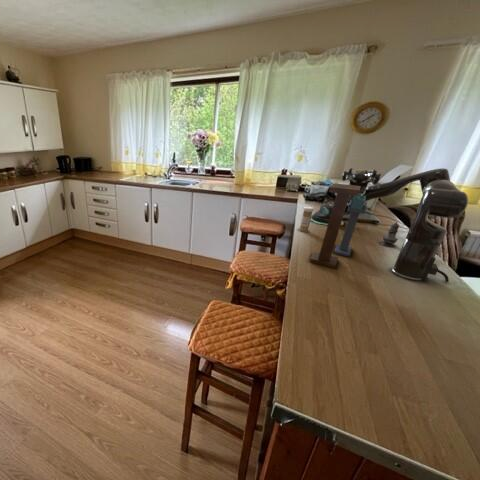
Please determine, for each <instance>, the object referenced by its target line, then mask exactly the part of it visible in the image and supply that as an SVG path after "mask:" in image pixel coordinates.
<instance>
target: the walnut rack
mask: <svg viewBox="0 0 480 480" xmlns="http://www.w3.org/2000/svg"><path fill="white" fill-rule="evenodd" d="M360 188H361V186H354V185H349V184H344V183H332V184H331V186H330V187H329V190H328V193H333V194H336V195H335V198H334V202H333V205H332V206H333V209H332V212H331V216H330V219H329V223H328V225H326V226H327V227H326V230H325V234H324V236H323V240H322V243H321V248H320V251H319V252H317V251H314V252H313V254H312V255H311V257H310V261H309V262H310V263H312V264H317V265H319V266H320V265H321V266H324V267H327V268H331V269H336V266H337V263H338V259H339V257H338V256H334V255H332V254H333V252H334V248H335V246H336V241H337V239H338V234H339V232H340V228H341V226H342V225H341V222H343V220H344V219H343V218H344V216H345V212H346V210H347V209H346V208H347V207H348V206H347V205H348V199H349V196H350V195H356V196H358V194H359V191H360Z"/></svg>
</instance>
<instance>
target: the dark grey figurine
mask: <svg viewBox="0 0 480 480" xmlns="http://www.w3.org/2000/svg"><path fill="white" fill-rule="evenodd" d="M399 227H400V225H399V224H398V222H397V221H395V223H392V224H391V225H390V228H389V229H388V232H387V234H385V235H382V242H380V244H381V245H382V246H385V247H389V248H395V244H396V243H397V242H398V240H399V239H398V238H397V233H398V232H399V231H398V230H399Z"/></svg>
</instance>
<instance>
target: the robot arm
mask: <svg viewBox="0 0 480 480" xmlns="http://www.w3.org/2000/svg"><path fill="white" fill-rule="evenodd" d="M381 176H382V173H378V171H377V170H376V169H373V170H372V173H365V174H363V173H357V172H355V171H353V168H352V167H351V168H349V169H348V170H347V171H346V170H345V171H343V173H342V176H341V177H342V178H341V180H342V181H343V182H345V181H346V180H348V181H349V183H348V185H354V186H361V188H360V191H359V194H363V196H366V199H365V202H368V201H371V200H374V199H380V198H386V197H389V196H393V194H396V193H397V192H398V191H399V190H401V189H402V188H404V187H406V186H407V185H409V184H411V183H414V182H417V181H419V184H420V189H421V192H422V197H421V199H420V201H419V204H418V207H417V210H416V213H415V216H414V218H413V221H412V223H411V224H410V227H409V230H408V232H407V234H406V236H405V239H404V241H403V243H402V247H401V249H400V251H399V253H398V256H397V258H396V260H395V262H394V265H393V267H392V269H391V272H392V273H394V274H395V275H397V276H399V277H401V278H403V279H407V280H410V281H411V280H412V281H418V282H419V281H420V282H426V280H427V278H428V275H432V276H437V274H438V273H439V274H440V275H442V276H443V277H444V281H445V283H449V282H450V279H449V276H448V275H447V274H446V273H445V272H444V271H442V270H440V269H439V267H438V265H437V264H436V263H435V262H436V260H437V259H436V255H437V253H438V251H439V249H440V247H441V244H442V242H443V240H444V238H445V236H446V234H447V229H446V228H445V227H444V226H442V225H440V224H437V223H435V222H433V221H431V220H430V219H429V216H431V217H439V218H444V219H445V218H446V219H454V218H457V217H460V216H461V215H463V214H464V212H465V211H466V209H467V207H468V206H469V205H468V204H469V197H468V194H467V193H466V192H465V191H463V190H460V189H458V188H457V186H456V184H455V183H453V182H452V181H451V177H450V173H449V169H448V168H443V167H441V168H435V169H430V170H425V171H423V172H419V173H416V174H411V175H408V176H405V177H401V178H398V179H394V180H391V181H388V182H384V183H378V182H379V181H380V178H381ZM369 183H373V184H374V185H373V184H372V185H369ZM354 196H355V195H350V196H349V199H348V203H347V205H349V203H350V200H352V202H353V199H354ZM352 202H351V204H352Z"/></svg>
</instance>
